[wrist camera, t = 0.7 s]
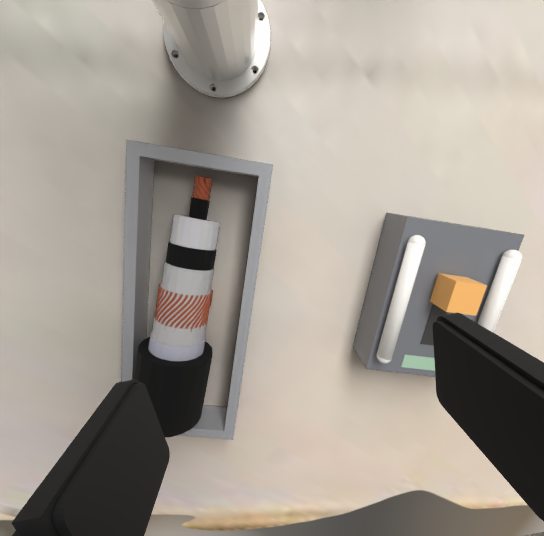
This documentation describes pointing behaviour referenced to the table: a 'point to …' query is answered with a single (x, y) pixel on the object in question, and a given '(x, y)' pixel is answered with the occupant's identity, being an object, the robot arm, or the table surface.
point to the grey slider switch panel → (423, 285)
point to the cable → (182, 320)
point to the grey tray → (138, 263)
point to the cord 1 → (400, 297)
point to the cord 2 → (500, 289)
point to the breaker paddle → (457, 294)
